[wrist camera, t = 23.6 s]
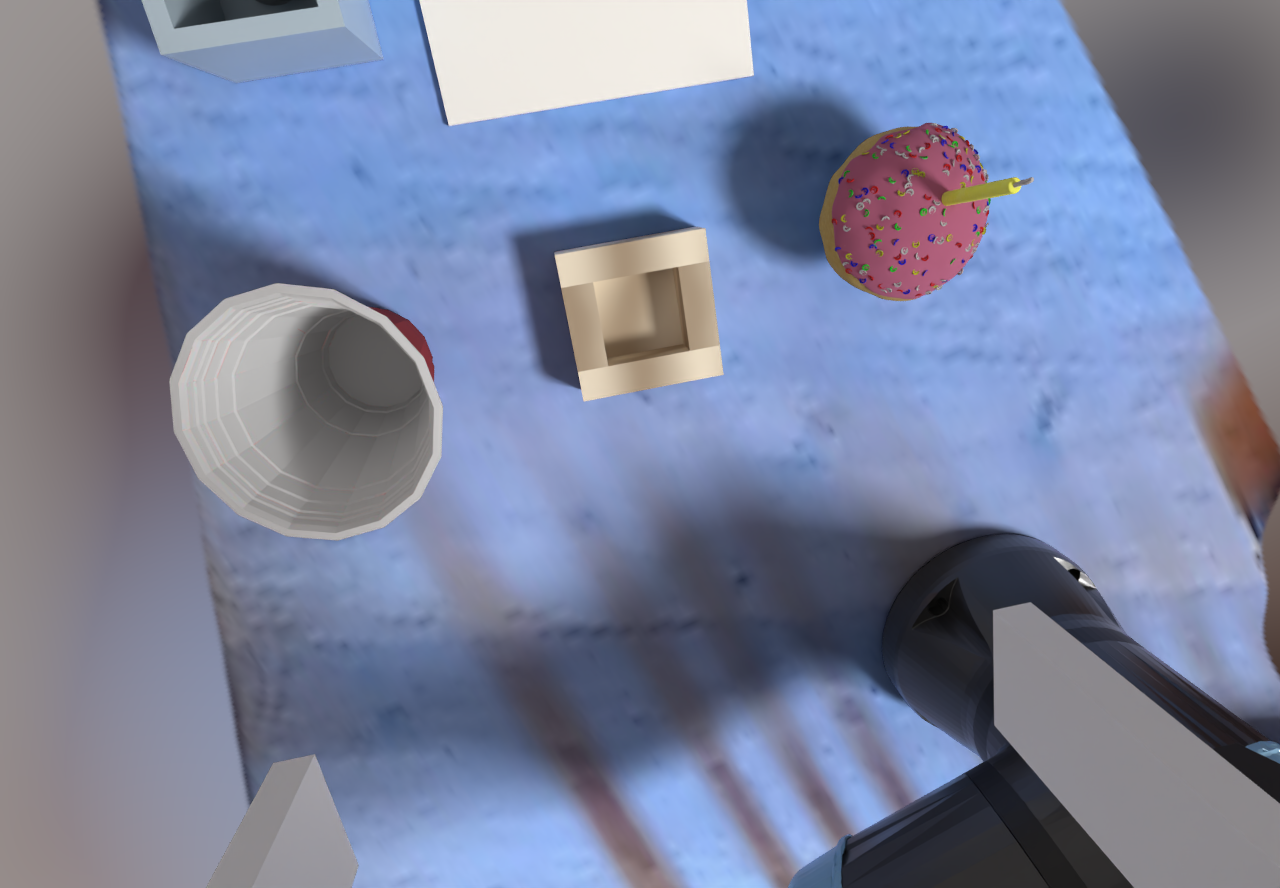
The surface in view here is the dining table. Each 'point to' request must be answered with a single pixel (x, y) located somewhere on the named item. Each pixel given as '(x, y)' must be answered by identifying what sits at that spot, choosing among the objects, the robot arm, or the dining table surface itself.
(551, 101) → the paper
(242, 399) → the plastic cup
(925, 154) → the cupcake
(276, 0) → the marker
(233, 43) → the pen pot
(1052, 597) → the robot arm
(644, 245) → the marker stand
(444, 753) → the dining table surface
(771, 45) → the dining table surface
